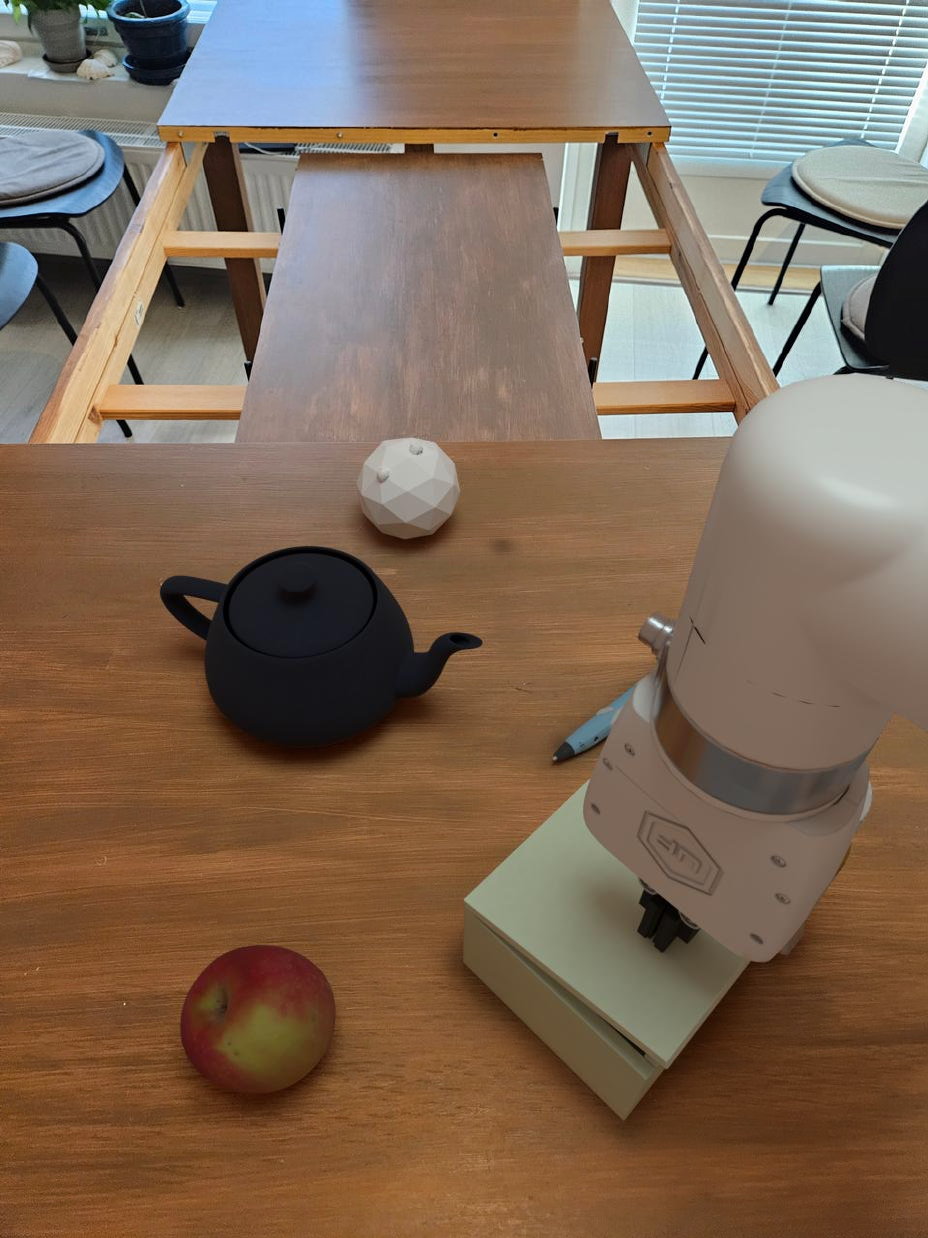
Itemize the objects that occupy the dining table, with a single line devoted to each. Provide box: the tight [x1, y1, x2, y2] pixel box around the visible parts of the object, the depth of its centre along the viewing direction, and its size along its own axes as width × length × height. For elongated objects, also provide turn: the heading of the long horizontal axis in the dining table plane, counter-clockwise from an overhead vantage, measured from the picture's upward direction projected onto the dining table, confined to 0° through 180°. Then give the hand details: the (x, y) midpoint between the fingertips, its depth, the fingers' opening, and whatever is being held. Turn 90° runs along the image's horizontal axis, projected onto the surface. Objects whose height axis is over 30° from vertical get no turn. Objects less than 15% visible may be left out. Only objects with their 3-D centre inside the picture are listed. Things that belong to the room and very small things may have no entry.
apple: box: [179, 944, 337, 1094], centre depth 49 cm, size 8×8×8 cm
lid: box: [463, 778, 751, 1070], centre depth 48 cm, size 13×12×1 cm
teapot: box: [159, 545, 484, 749], centre depth 65 cm, size 25×16×12 cm, turn 73°
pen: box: [551, 666, 658, 762], centre depth 68 cm, size 19×3×3 cm, turn 128°
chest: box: [462, 907, 666, 1122], centre depth 52 cm, size 13×12×8 cm
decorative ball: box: [355, 437, 461, 540], centre depth 80 cm, size 9×10×12 cm
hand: (667, 922), depth 46 cm, fingers closed
